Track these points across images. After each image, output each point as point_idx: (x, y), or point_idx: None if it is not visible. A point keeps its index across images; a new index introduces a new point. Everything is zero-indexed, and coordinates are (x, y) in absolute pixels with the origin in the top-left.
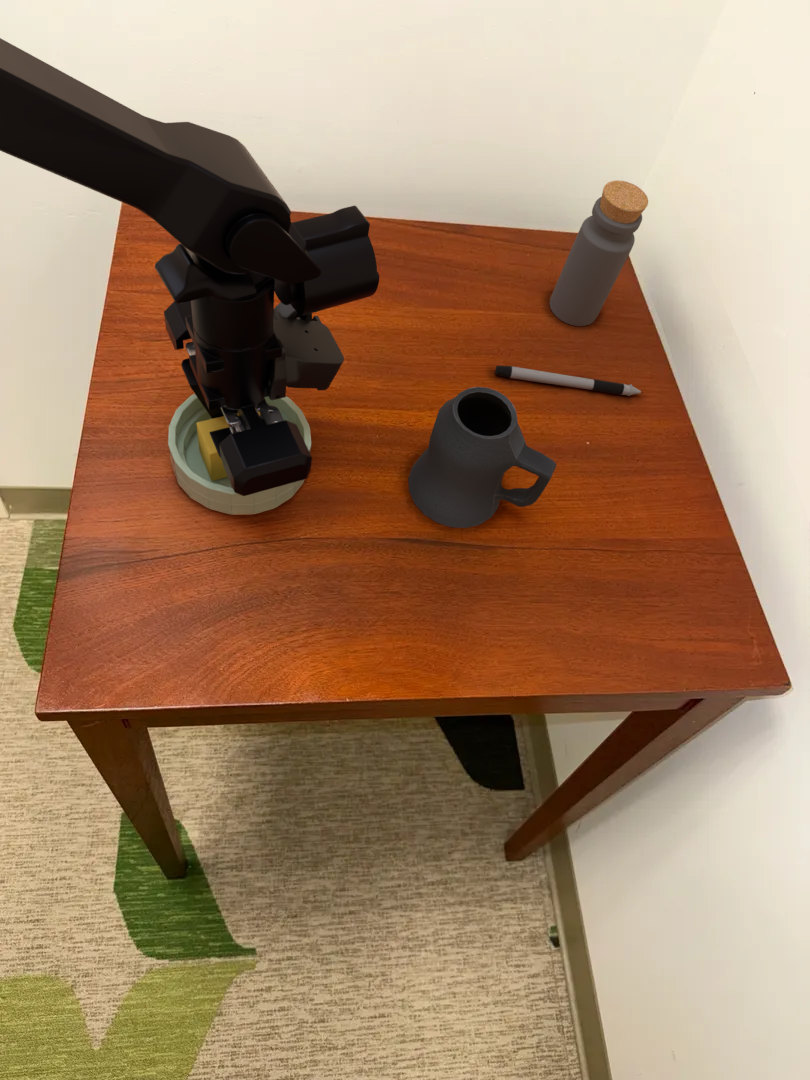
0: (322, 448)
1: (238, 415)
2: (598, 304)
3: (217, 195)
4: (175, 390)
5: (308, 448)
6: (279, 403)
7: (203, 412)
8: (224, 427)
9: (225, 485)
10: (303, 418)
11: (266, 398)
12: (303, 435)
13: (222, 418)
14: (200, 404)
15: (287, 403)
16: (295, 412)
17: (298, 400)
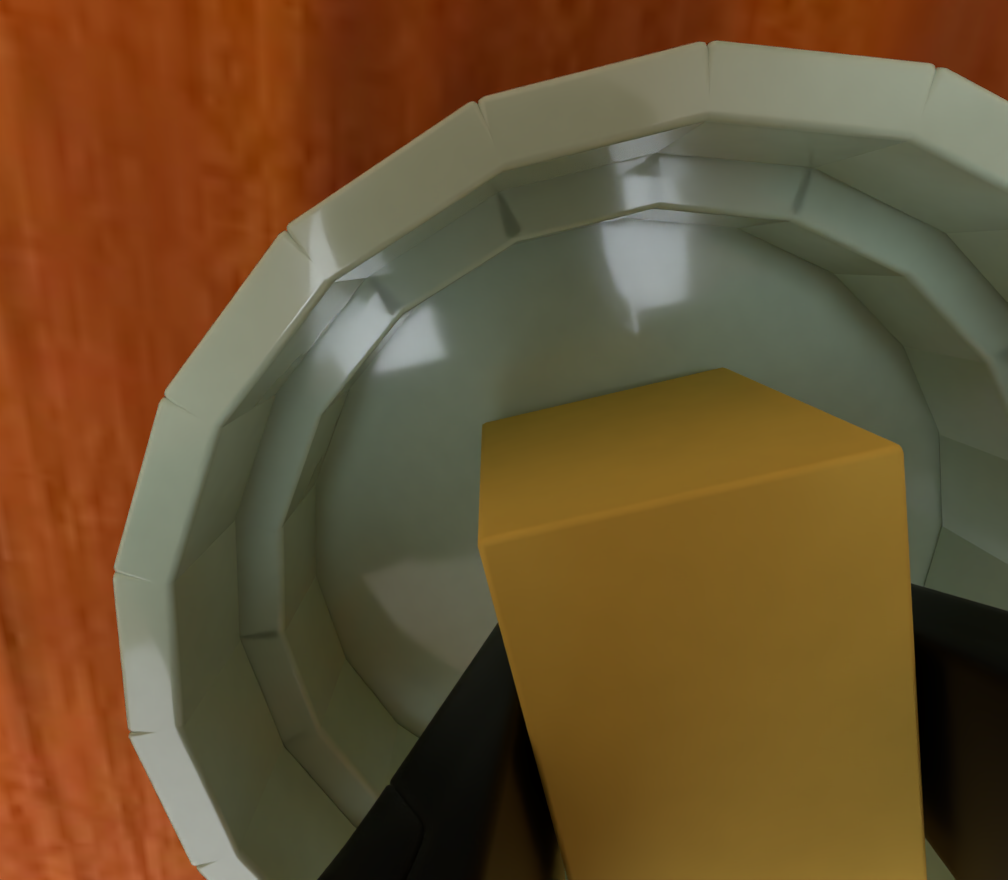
0: (569, 15)
1: (571, 758)
2: None
3: None
4: (139, 784)
5: (983, 106)
6: (318, 317)
7: (362, 788)
8: (690, 864)
9: None
10: (587, 98)
11: (254, 418)
12: (743, 137)
13: (594, 875)
14: (323, 839)
15: (368, 252)
16: (488, 180)
17: (148, 129)
